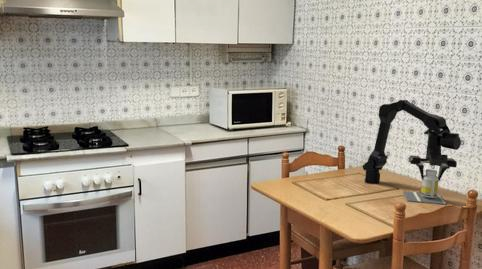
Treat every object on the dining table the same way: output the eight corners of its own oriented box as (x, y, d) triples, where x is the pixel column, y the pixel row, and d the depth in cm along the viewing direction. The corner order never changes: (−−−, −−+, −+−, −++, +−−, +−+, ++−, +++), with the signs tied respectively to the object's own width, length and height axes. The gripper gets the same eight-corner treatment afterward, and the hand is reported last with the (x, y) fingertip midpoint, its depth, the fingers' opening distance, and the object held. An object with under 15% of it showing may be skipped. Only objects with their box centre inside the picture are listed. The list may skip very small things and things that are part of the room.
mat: (407, 201, 202) (407, 199, 202) (402, 192, 215) (402, 190, 215) (446, 204, 199) (446, 203, 199) (439, 195, 212) (439, 194, 212)
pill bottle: (436, 194, 209) (439, 169, 207) (437, 199, 203) (440, 173, 201) (420, 193, 211) (423, 168, 209) (421, 197, 205) (424, 171, 203)
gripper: (414, 147, 197) (410, 183, 199) (462, 150, 193) (457, 187, 196) (410, 142, 207) (407, 176, 210) (455, 145, 204) (451, 180, 207)
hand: (430, 180), depth 205 cm, fingers closed on pill bottle, 6 cm apart
